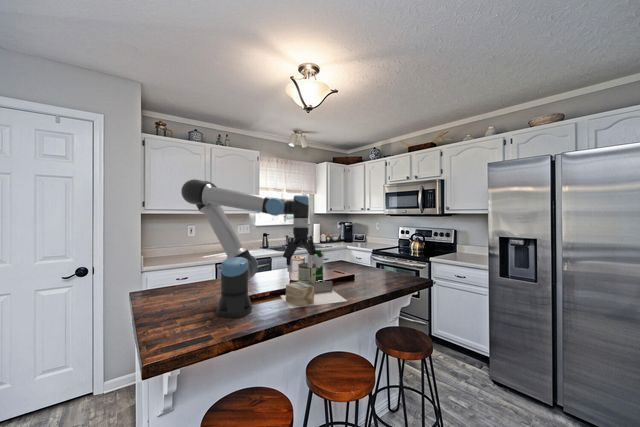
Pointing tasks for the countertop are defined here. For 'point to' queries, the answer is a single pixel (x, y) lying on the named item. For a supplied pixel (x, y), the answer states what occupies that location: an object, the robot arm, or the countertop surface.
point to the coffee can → (306, 273)
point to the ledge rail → (321, 286)
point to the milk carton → (318, 264)
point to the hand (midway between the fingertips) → (300, 269)
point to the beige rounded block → (300, 293)
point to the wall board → (319, 299)
